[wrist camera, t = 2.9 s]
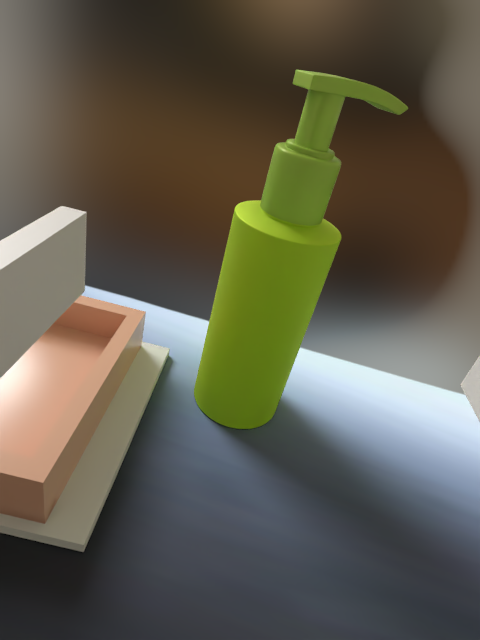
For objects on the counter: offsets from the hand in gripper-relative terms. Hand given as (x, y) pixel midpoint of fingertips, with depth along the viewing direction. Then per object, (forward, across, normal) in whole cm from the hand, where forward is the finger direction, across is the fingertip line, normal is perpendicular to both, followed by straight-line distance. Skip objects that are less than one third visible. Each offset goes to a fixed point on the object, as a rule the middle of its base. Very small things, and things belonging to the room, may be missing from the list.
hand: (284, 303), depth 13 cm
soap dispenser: (+11, 0, -14) cm, 17 cm away
